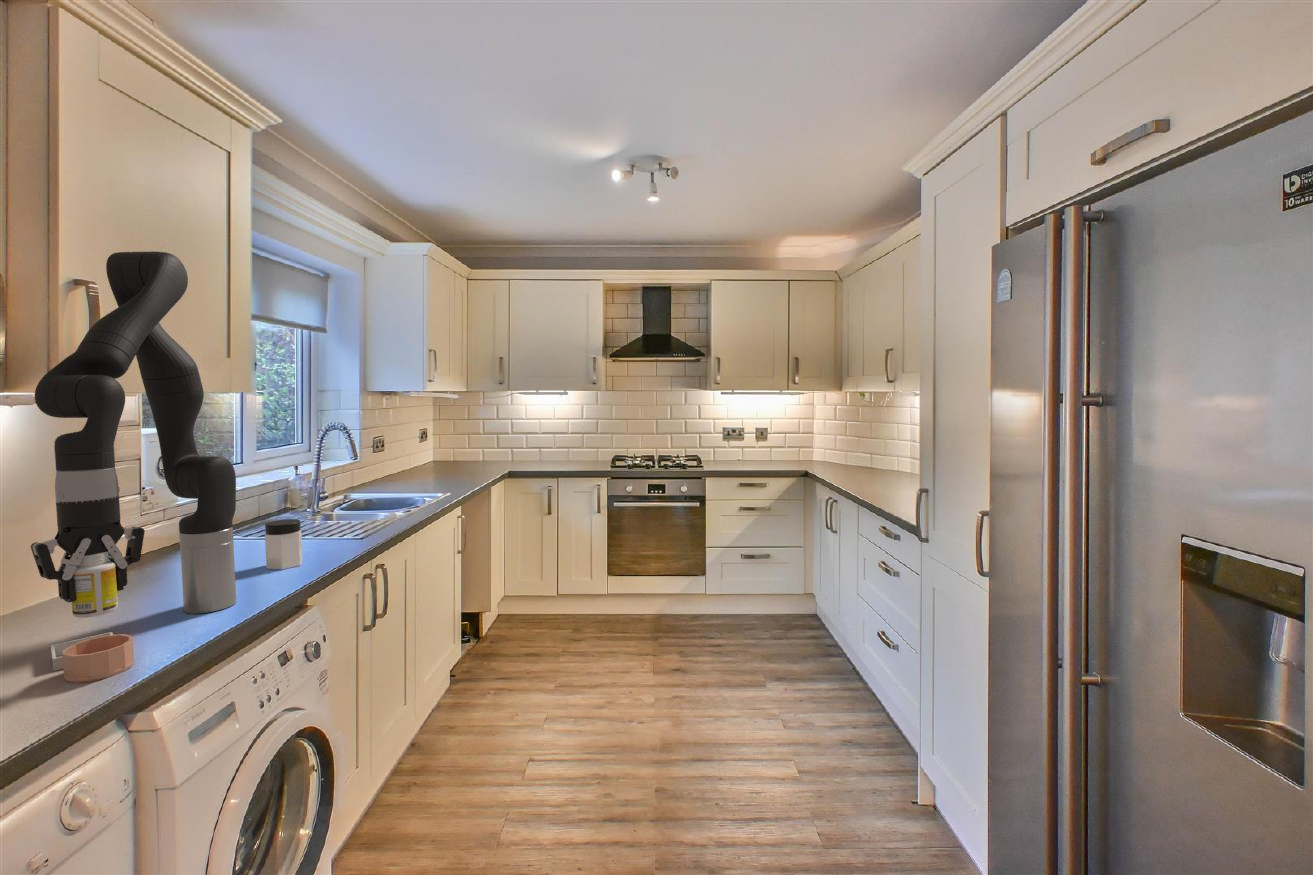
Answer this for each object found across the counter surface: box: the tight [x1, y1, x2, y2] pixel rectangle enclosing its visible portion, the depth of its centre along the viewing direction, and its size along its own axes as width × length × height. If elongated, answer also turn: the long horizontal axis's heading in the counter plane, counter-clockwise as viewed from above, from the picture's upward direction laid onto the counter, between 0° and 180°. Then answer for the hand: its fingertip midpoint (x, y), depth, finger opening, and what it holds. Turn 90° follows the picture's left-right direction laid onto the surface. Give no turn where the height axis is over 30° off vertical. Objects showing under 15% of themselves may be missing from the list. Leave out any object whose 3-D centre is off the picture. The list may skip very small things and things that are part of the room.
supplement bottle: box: [71, 552, 119, 619], centre depth 97 cm, size 6×6×10 cm
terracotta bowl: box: [62, 633, 135, 684], centre depth 98 cm, size 8×8×4 cm
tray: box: [50, 631, 114, 672], centre depth 104 cm, size 8×8×2 cm
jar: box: [264, 518, 303, 571], centre depth 159 cm, size 9×8×12 cm
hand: (94, 595), depth 98 cm, fingers closed on supplement bottle, 5 cm apart
